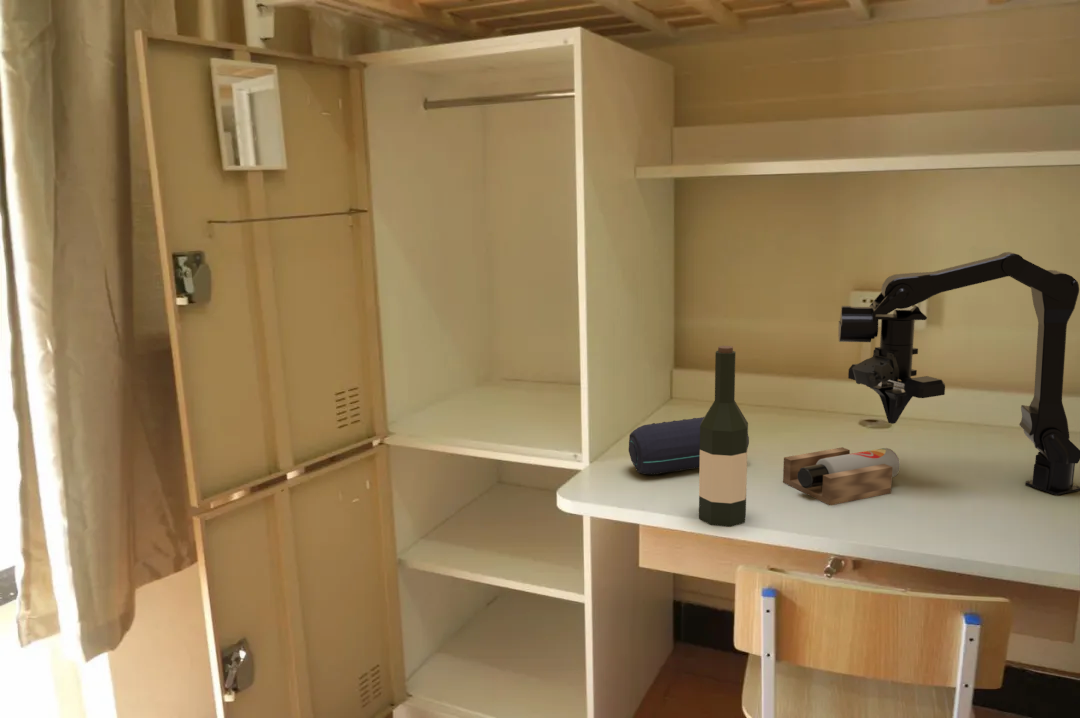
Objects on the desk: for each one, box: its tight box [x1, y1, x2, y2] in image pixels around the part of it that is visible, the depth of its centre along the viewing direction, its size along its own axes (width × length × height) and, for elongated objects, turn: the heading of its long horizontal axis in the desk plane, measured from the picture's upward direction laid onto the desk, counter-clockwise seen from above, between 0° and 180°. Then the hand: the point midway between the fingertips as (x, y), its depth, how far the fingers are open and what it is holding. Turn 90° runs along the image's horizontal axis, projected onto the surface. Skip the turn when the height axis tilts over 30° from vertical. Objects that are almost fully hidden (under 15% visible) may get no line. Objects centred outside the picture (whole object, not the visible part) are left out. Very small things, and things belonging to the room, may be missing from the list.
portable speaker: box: [628, 416, 750, 475], centre depth 168 cm, size 25×10×10 cm, turn 109°
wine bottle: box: [698, 345, 749, 528], centre depth 140 cm, size 8×8×30 cm
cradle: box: [782, 446, 893, 506], centre depth 155 cm, size 14×13×5 cm
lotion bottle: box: [797, 447, 901, 488], centre depth 153 cm, size 6×6×20 cm
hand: (892, 423), depth 157 cm, fingers closed
